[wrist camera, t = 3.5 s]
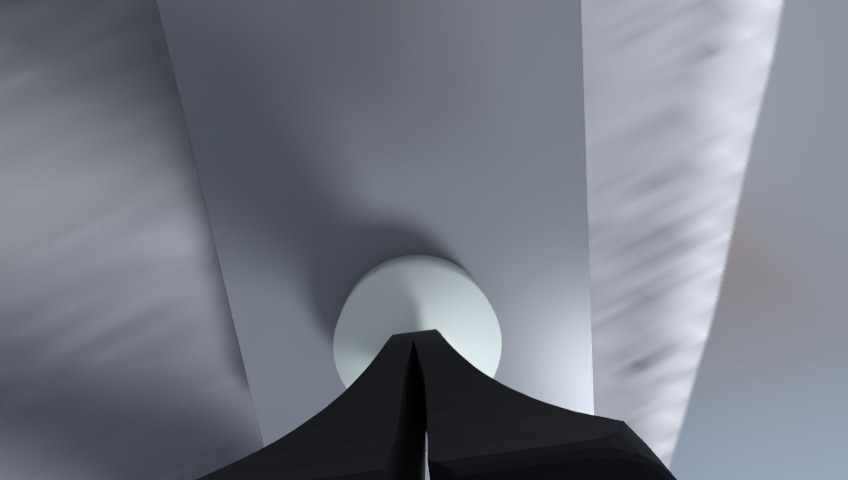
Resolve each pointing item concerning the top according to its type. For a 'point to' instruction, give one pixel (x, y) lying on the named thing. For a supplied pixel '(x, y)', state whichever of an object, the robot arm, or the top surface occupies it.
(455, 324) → the sage plunger
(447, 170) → the block
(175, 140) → the top surface
